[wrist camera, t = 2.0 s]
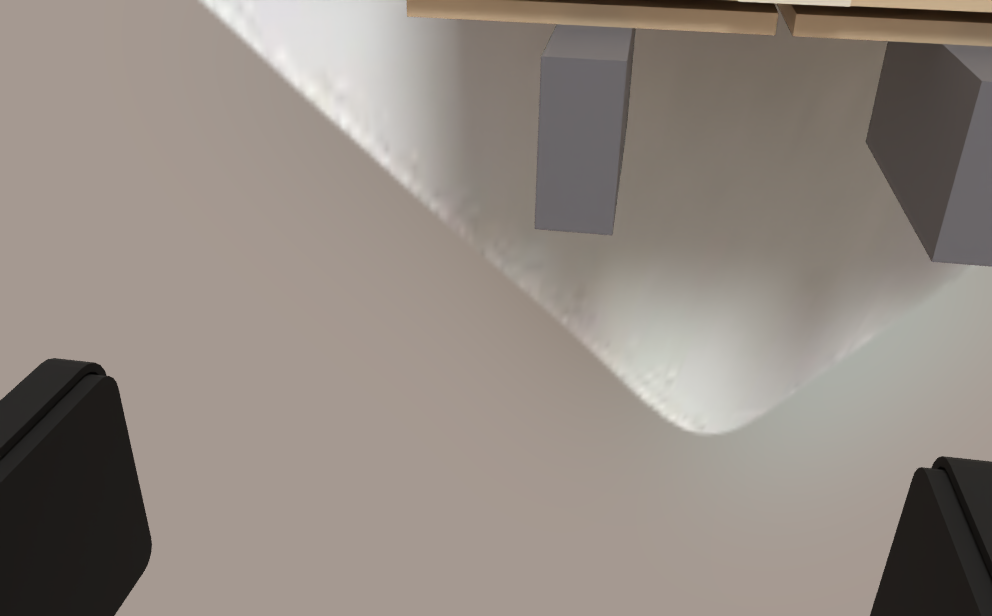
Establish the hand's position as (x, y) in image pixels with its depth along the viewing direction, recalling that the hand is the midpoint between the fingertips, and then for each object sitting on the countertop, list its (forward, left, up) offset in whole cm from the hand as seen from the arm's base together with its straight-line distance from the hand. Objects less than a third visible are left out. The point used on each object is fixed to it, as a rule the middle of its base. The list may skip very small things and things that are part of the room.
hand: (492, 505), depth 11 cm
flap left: (0, -1, -24) cm, 24 cm away
